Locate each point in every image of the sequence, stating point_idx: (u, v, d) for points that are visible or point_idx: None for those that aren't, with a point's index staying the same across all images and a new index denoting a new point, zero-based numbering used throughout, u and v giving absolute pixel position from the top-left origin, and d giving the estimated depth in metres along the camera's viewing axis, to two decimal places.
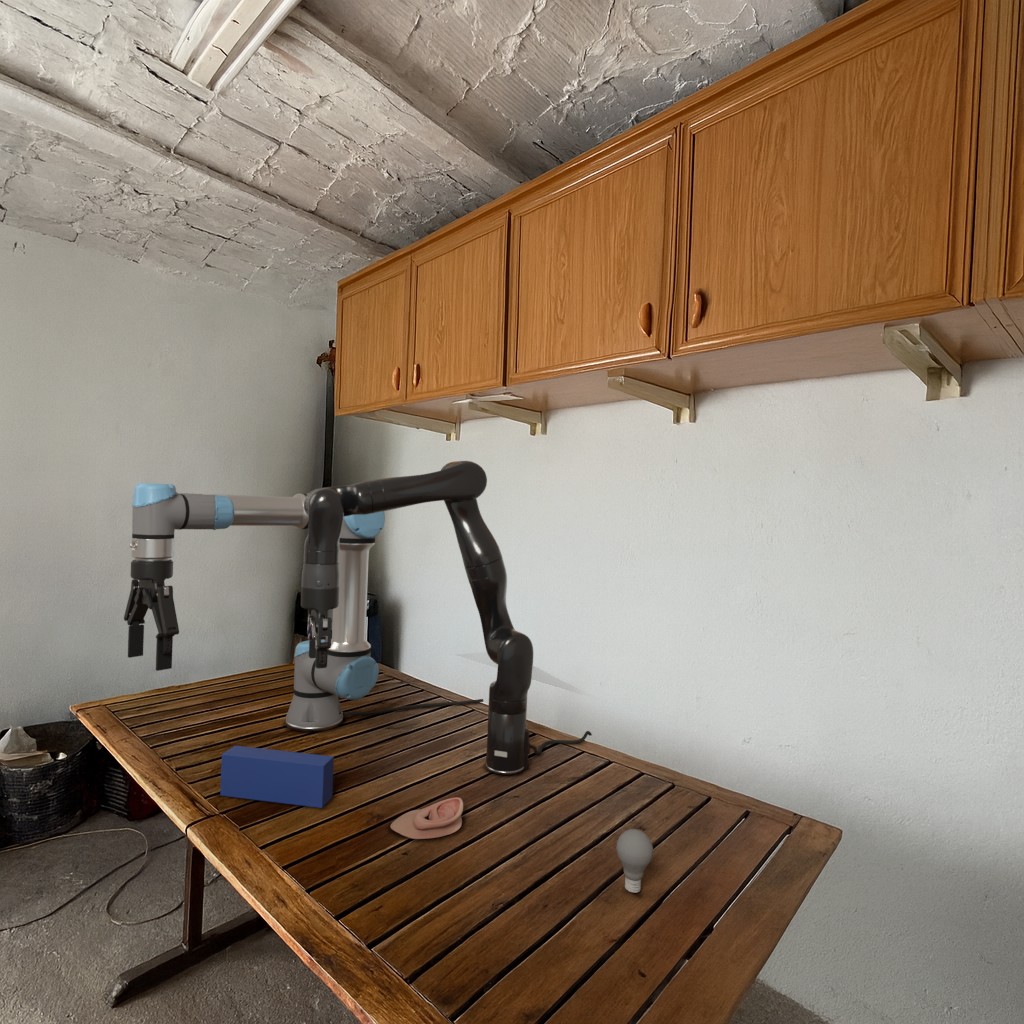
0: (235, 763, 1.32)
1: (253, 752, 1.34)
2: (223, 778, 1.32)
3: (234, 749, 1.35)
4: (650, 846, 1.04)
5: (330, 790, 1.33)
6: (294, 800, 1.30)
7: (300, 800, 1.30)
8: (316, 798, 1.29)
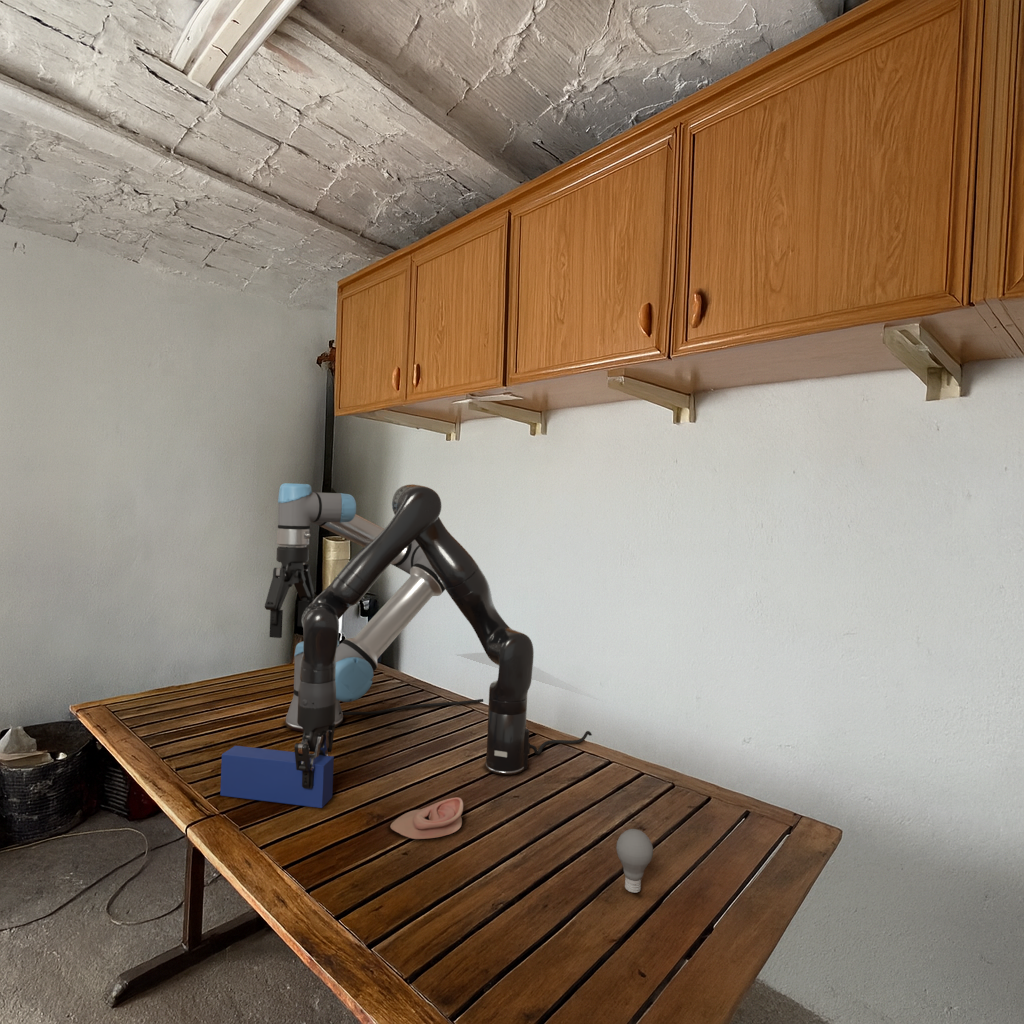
0: (235, 763, 1.32)
1: (253, 752, 1.34)
2: (223, 778, 1.32)
3: (234, 749, 1.35)
4: (650, 846, 1.04)
5: (330, 790, 1.33)
6: (294, 800, 1.30)
7: (300, 800, 1.30)
8: (316, 798, 1.29)
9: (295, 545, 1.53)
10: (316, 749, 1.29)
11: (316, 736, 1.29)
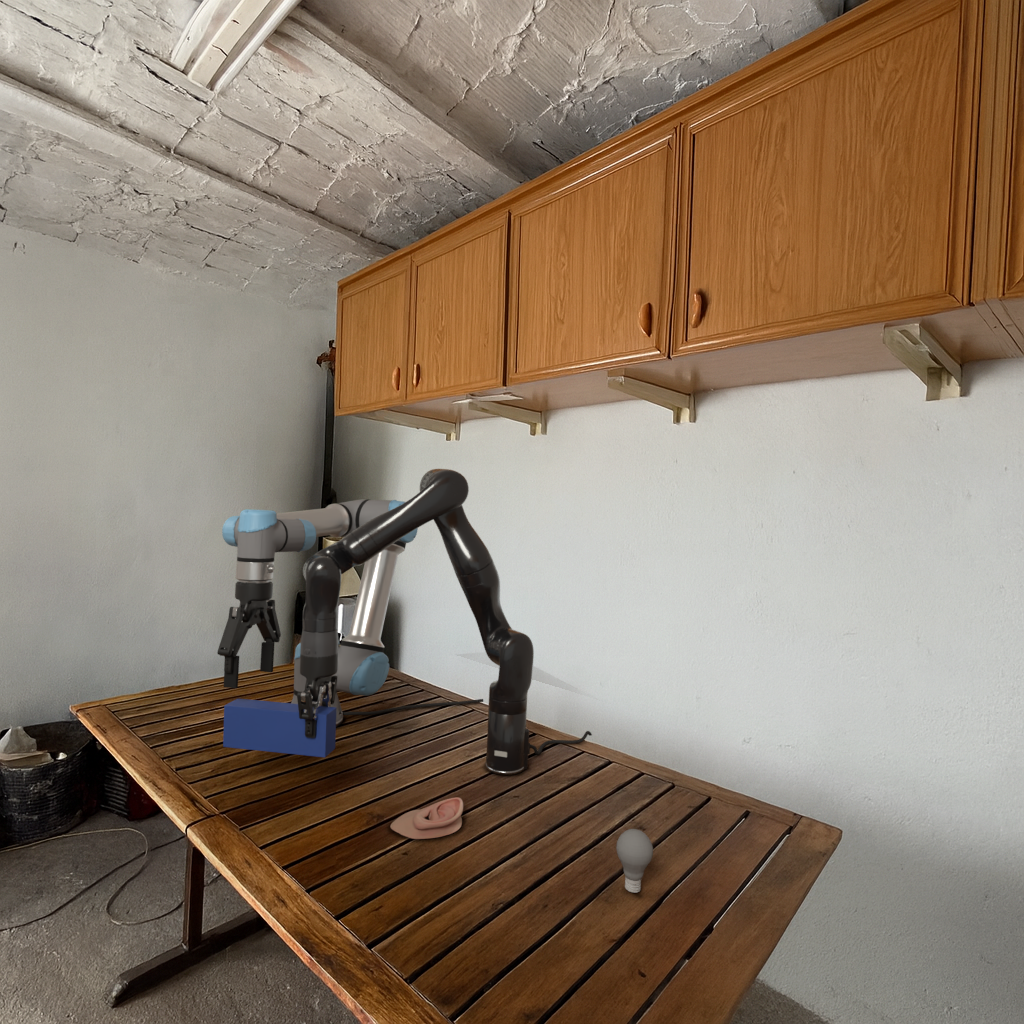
0: (238, 714, 1.32)
1: (256, 703, 1.34)
2: (226, 729, 1.32)
3: (236, 701, 1.35)
4: (650, 846, 1.04)
5: (333, 740, 1.33)
6: (297, 750, 1.30)
7: (303, 750, 1.30)
8: (319, 748, 1.29)
9: (256, 580, 1.34)
10: (319, 698, 1.29)
11: (319, 686, 1.29)
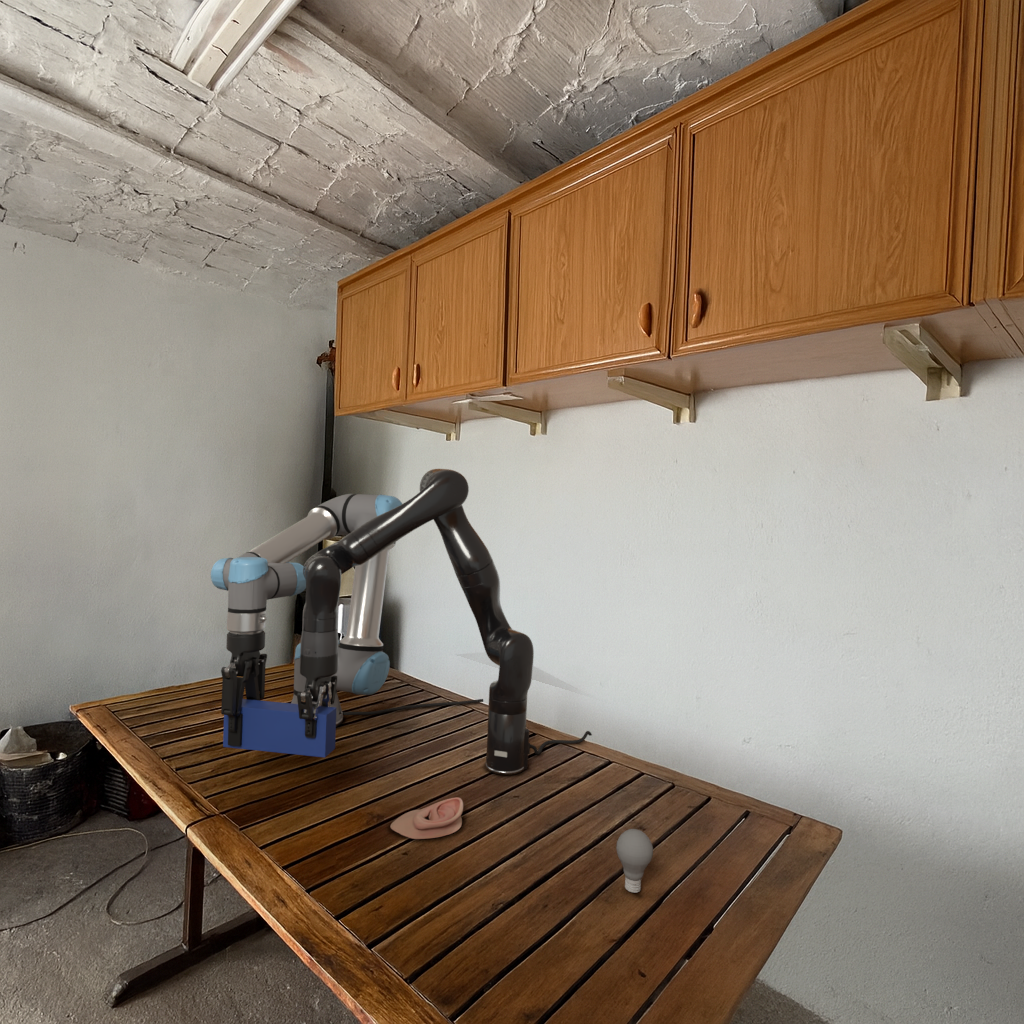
0: None
1: (256, 703, 1.34)
2: (226, 729, 1.32)
3: None
4: (650, 846, 1.04)
5: (333, 740, 1.33)
6: (297, 750, 1.30)
7: (303, 750, 1.29)
8: (319, 748, 1.29)
9: (248, 632, 1.31)
10: (319, 698, 1.29)
11: (319, 686, 1.29)
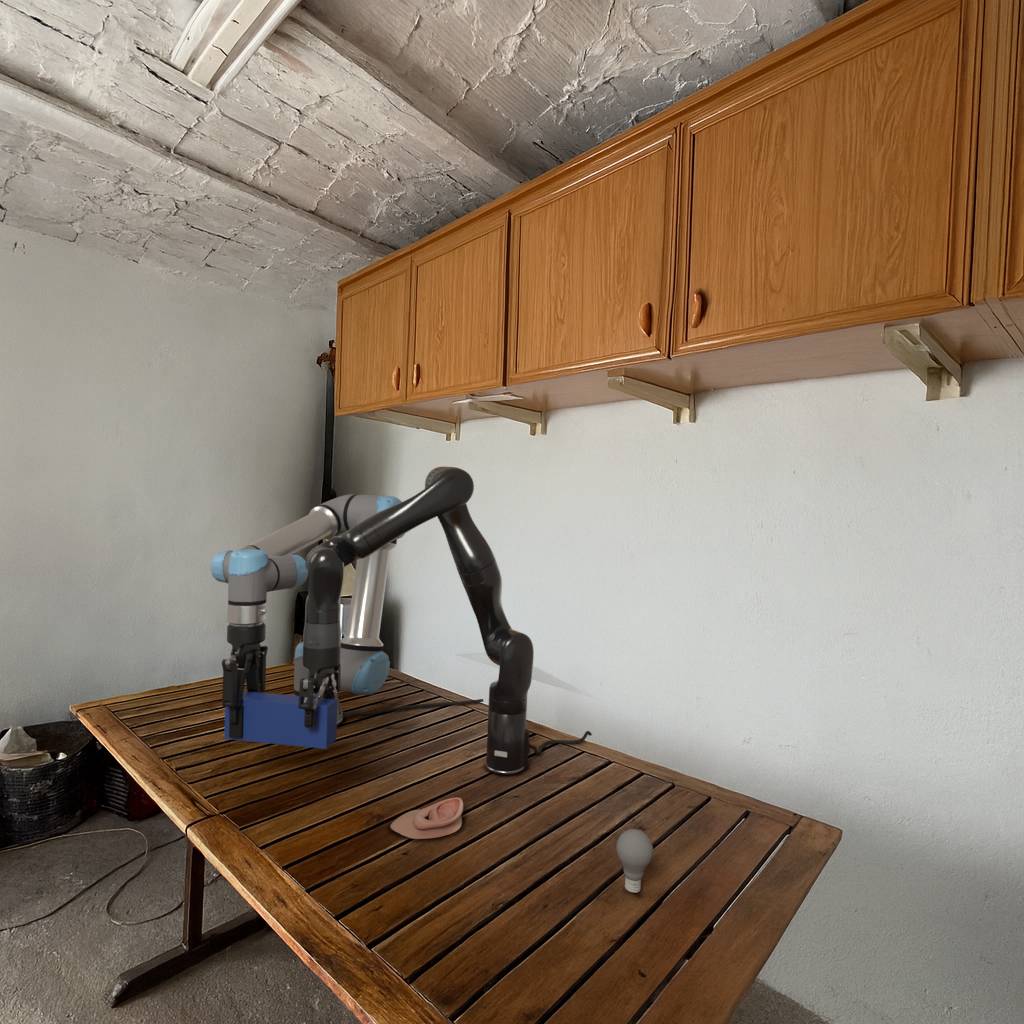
0: None
1: (257, 695, 1.34)
2: (227, 721, 1.32)
3: None
4: (650, 846, 1.04)
5: (334, 732, 1.33)
6: (298, 742, 1.30)
7: (304, 741, 1.30)
8: (320, 739, 1.29)
9: (248, 624, 1.31)
10: None
11: (321, 677, 1.29)
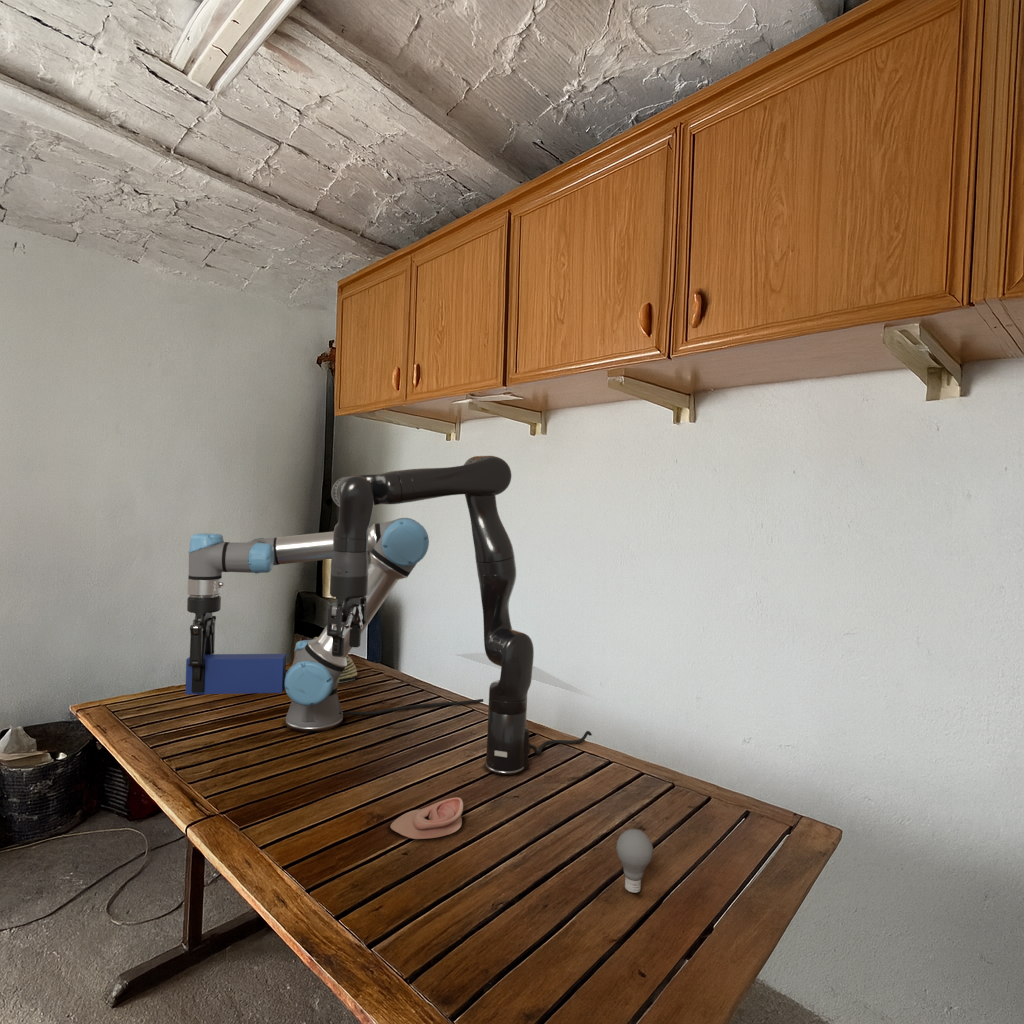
0: None
1: (214, 656, 1.59)
2: (188, 679, 1.55)
3: None
4: (650, 846, 1.04)
5: (284, 680, 1.63)
6: (256, 690, 1.58)
7: (262, 689, 1.58)
8: (277, 685, 1.59)
9: (210, 595, 1.55)
10: None
11: (349, 607, 1.28)
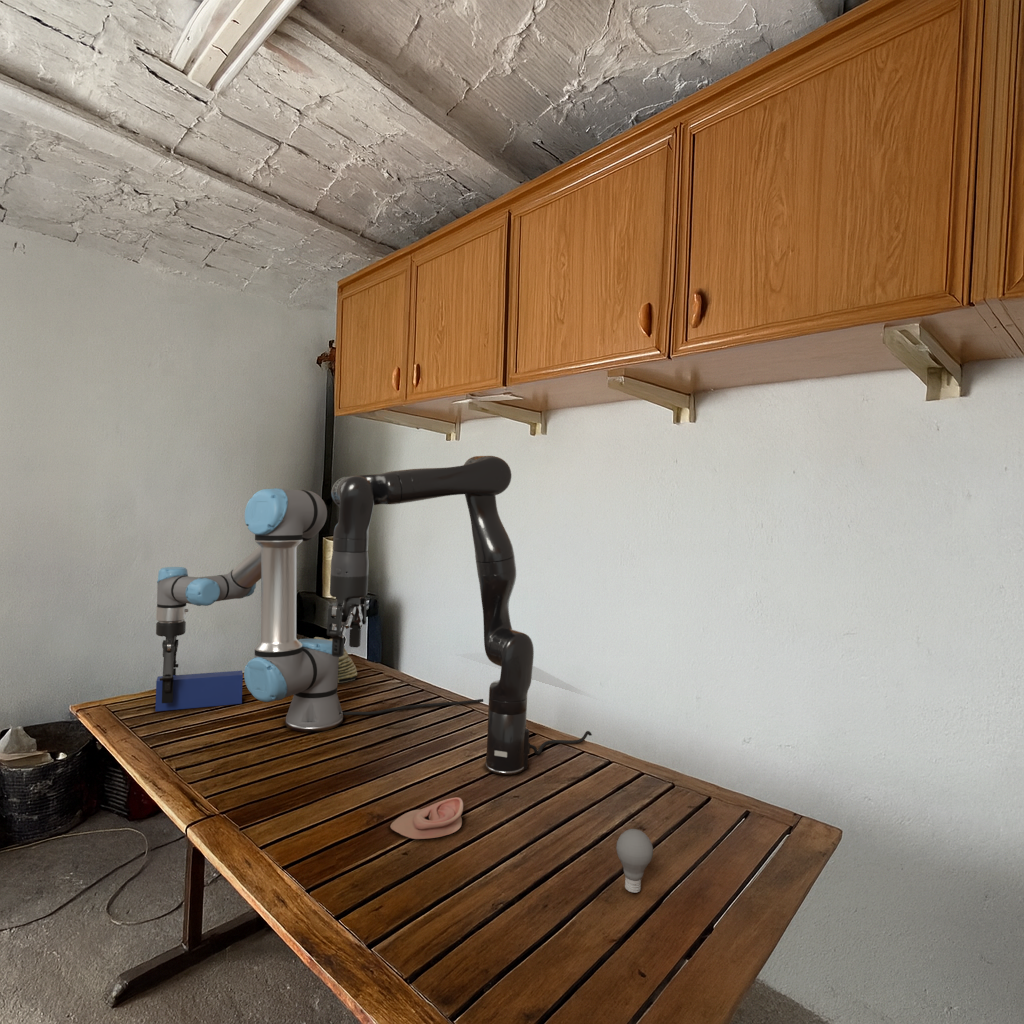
0: None
1: (179, 676, 1.84)
2: (158, 698, 1.80)
3: None
4: (650, 846, 1.04)
5: None
6: (219, 702, 1.87)
7: (224, 701, 1.87)
8: (237, 698, 1.89)
9: (178, 620, 1.81)
10: None
11: (349, 607, 1.28)
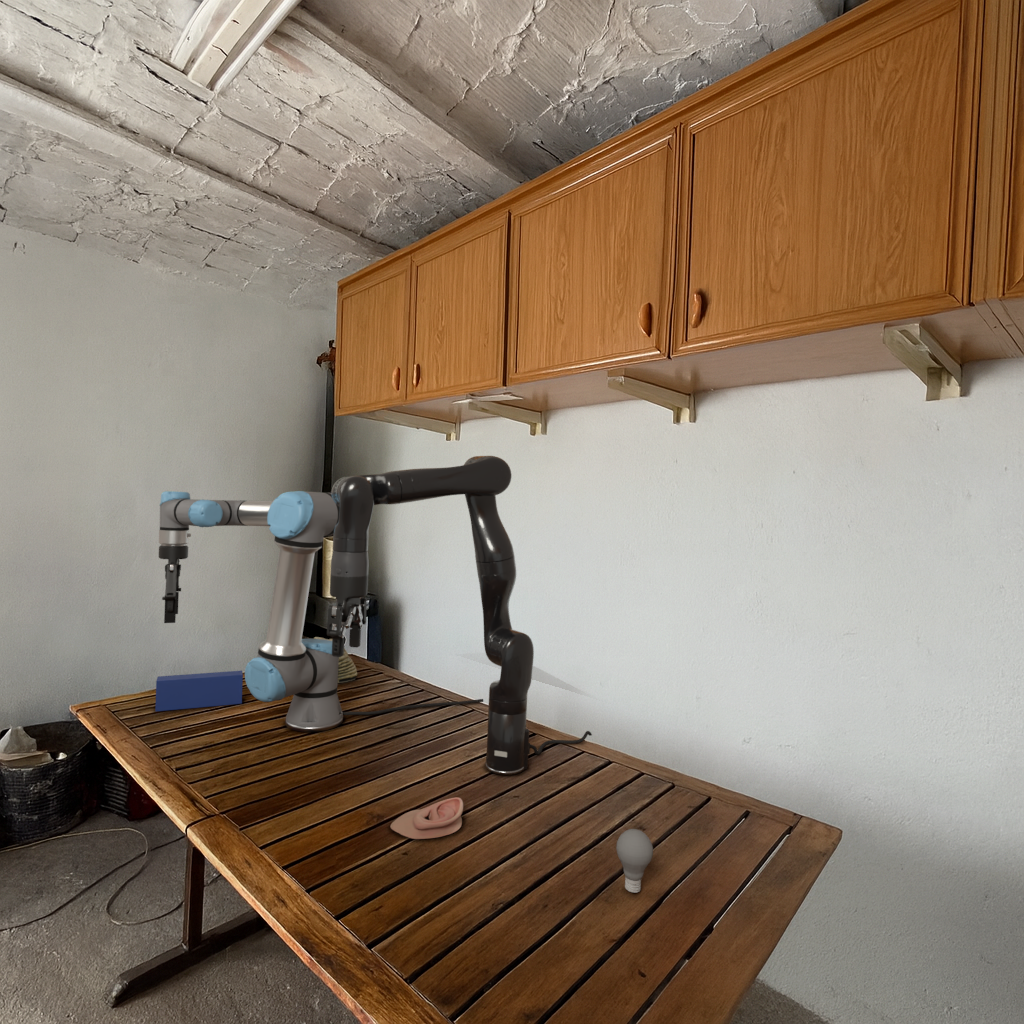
0: (168, 685, 1.81)
1: (179, 676, 1.84)
2: (158, 698, 1.80)
3: (161, 678, 1.83)
4: (650, 846, 1.04)
5: None
6: (219, 702, 1.87)
7: (224, 701, 1.87)
8: (237, 698, 1.89)
9: (181, 544, 1.81)
10: None
11: (349, 607, 1.28)
